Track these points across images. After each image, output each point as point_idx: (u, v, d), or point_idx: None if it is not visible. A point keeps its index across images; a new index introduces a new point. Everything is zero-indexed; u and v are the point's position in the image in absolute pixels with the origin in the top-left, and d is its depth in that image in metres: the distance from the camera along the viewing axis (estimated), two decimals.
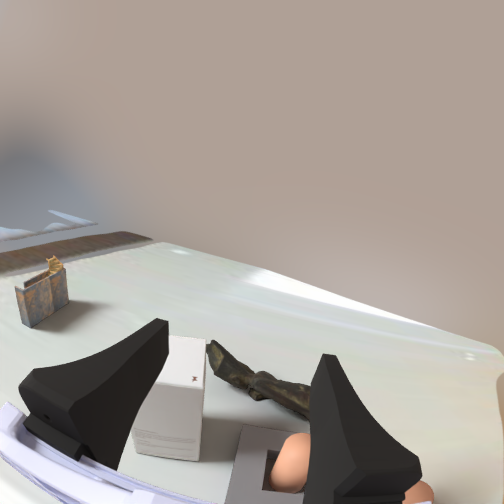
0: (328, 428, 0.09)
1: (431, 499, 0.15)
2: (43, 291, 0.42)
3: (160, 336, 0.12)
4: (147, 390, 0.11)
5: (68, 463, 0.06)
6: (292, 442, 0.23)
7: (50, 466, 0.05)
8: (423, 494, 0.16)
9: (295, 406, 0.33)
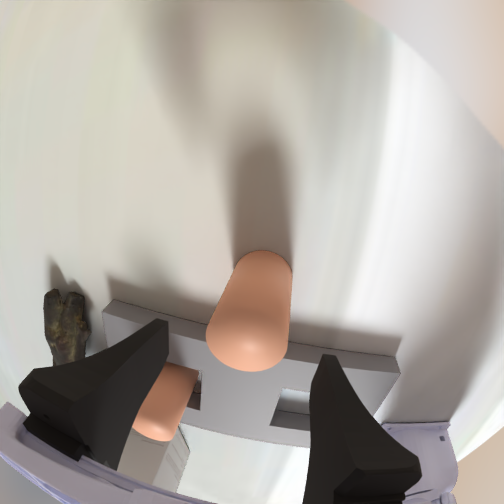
0: (328, 428, 0.09)
1: (266, 319, 0.13)
2: None
3: (160, 336, 0.12)
4: (147, 390, 0.11)
5: (68, 463, 0.06)
6: (144, 431, 0.19)
7: (50, 466, 0.05)
8: (247, 330, 0.14)
9: (80, 356, 0.23)
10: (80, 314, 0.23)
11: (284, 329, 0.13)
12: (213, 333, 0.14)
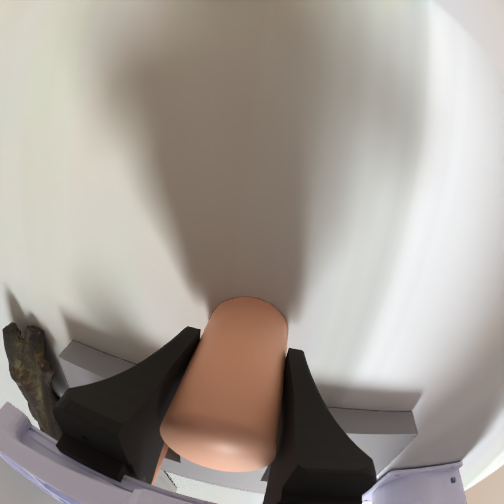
0: (286, 423, 0.09)
1: (243, 430, 0.08)
2: None
3: (193, 345, 0.12)
4: None
5: (68, 463, 0.06)
6: None
7: (50, 466, 0.05)
8: (216, 437, 0.08)
9: (47, 398, 0.17)
10: (41, 351, 0.18)
11: (271, 439, 0.08)
12: (170, 433, 0.08)
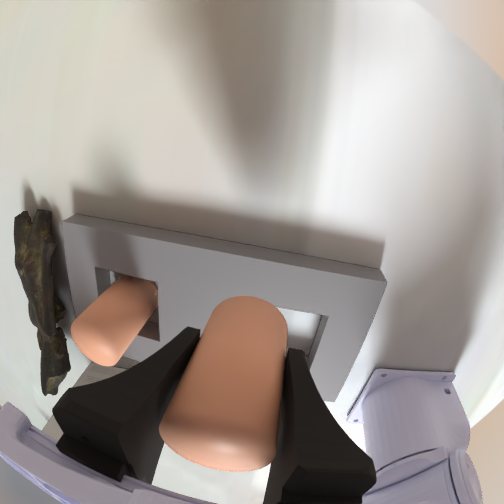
0: (286, 423, 0.09)
1: (242, 429, 0.08)
2: None
3: (193, 345, 0.12)
4: None
5: (68, 463, 0.06)
6: (90, 353, 0.17)
7: (50, 466, 0.05)
8: (215, 436, 0.08)
9: (46, 277, 0.21)
10: (46, 229, 0.21)
11: (270, 437, 0.08)
12: (169, 433, 0.08)
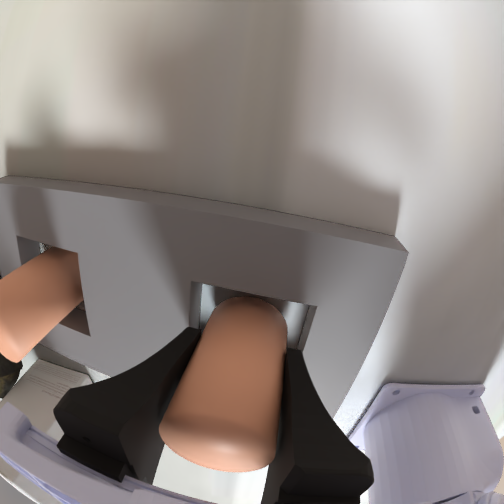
0: (284, 423, 0.09)
1: (241, 429, 0.08)
2: None
3: (194, 345, 0.12)
4: None
5: (68, 463, 0.06)
6: None
7: (50, 466, 0.05)
8: (215, 437, 0.08)
9: None
10: None
11: (269, 438, 0.08)
12: (169, 433, 0.08)
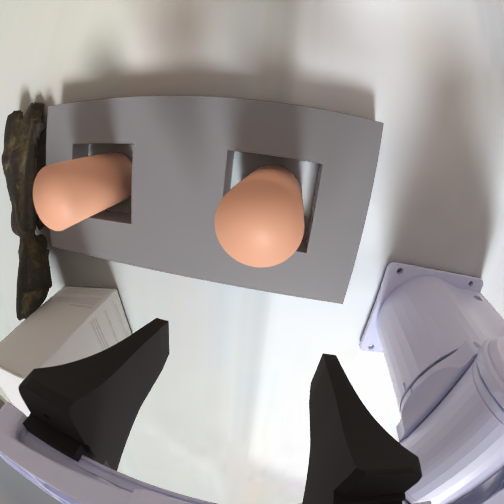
0: (328, 428, 0.09)
1: (279, 193, 0.12)
2: None
3: (160, 336, 0.12)
4: (147, 390, 0.11)
5: (68, 463, 0.06)
6: (48, 217, 0.15)
7: (50, 466, 0.05)
8: (260, 209, 0.13)
9: (30, 158, 0.18)
10: (37, 117, 0.18)
11: (299, 205, 0.13)
12: (222, 218, 0.13)
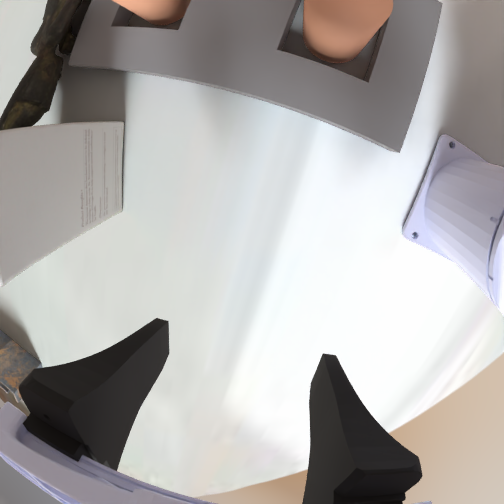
0: (328, 428, 0.09)
1: None
2: (0, 365, 0.28)
3: (160, 336, 0.12)
4: (147, 390, 0.11)
5: (68, 463, 0.06)
6: None
7: (50, 466, 0.05)
8: None
9: None
10: None
11: None
12: None
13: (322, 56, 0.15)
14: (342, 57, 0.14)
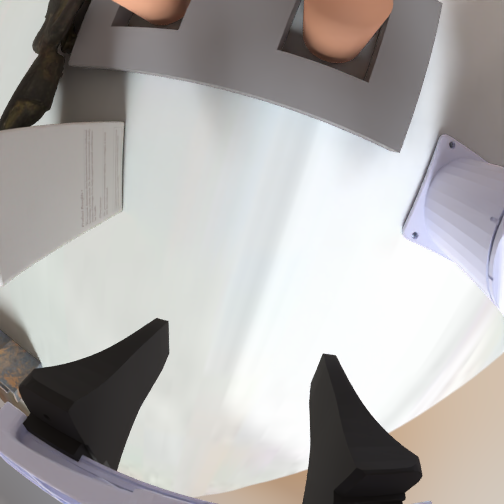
0: (328, 428, 0.09)
1: None
2: (0, 365, 0.28)
3: (160, 336, 0.12)
4: (147, 390, 0.11)
5: (68, 463, 0.06)
6: None
7: (50, 466, 0.05)
8: None
9: None
10: None
11: None
12: None
13: (323, 56, 0.15)
14: (342, 57, 0.14)
